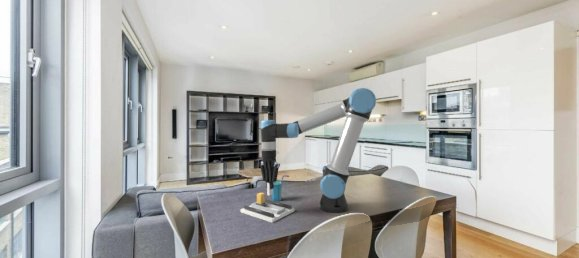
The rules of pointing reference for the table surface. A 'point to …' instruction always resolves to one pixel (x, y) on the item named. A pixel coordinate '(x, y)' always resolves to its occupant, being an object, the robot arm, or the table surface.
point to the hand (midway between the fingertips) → (270, 194)
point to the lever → (261, 199)
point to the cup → (277, 189)
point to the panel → (268, 210)
